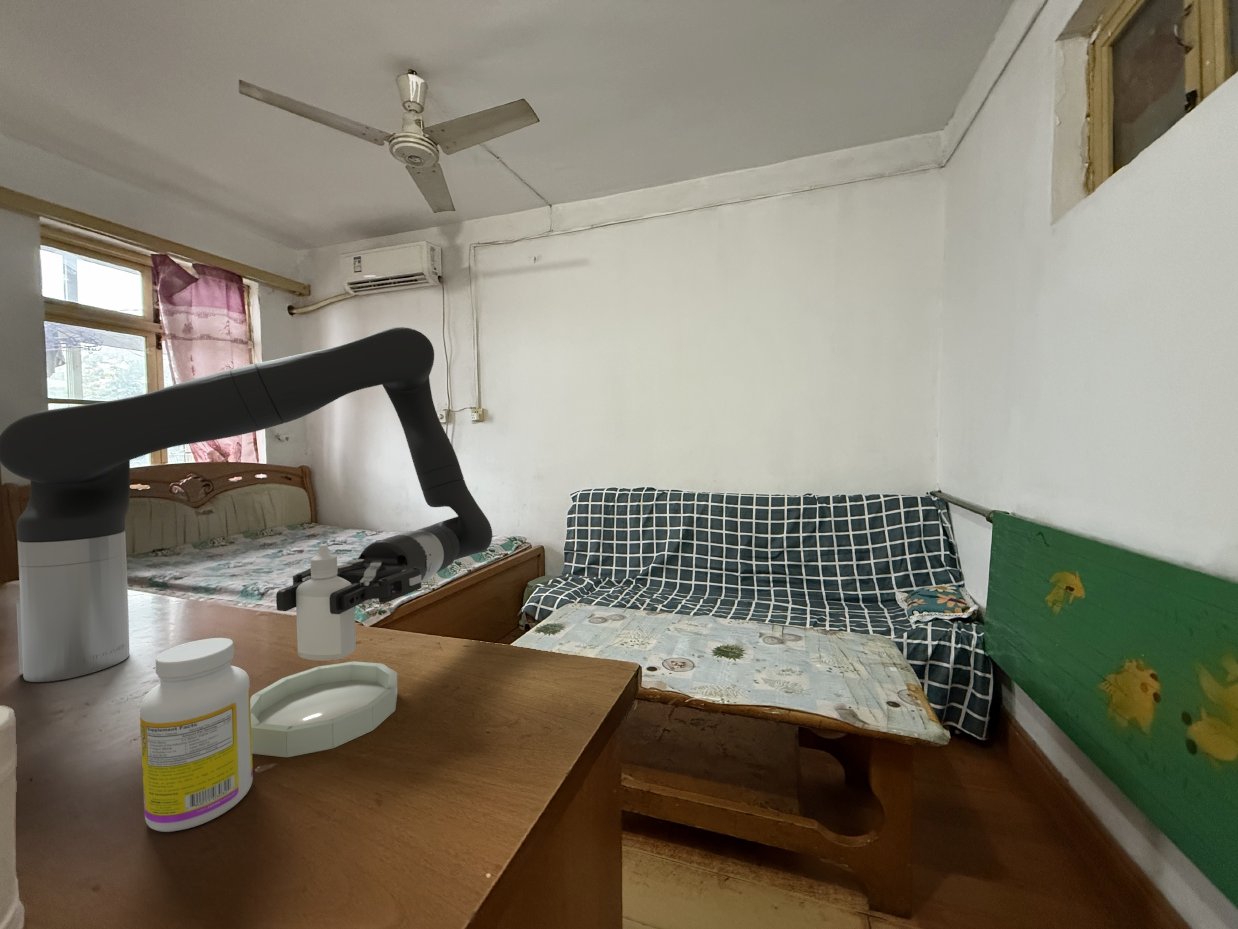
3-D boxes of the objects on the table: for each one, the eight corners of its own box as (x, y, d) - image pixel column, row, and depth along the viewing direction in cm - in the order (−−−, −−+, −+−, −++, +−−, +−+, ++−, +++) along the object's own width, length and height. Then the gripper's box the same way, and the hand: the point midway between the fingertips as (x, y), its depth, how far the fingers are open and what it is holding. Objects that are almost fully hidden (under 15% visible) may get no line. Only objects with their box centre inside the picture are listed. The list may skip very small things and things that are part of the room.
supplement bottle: (191, 777, 42) (186, 633, 41) (270, 773, 42) (267, 631, 42) (117, 840, 35) (111, 669, 35) (213, 834, 36) (208, 666, 35)
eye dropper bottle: (316, 669, 48) (312, 552, 48) (293, 654, 52) (289, 545, 51) (360, 653, 52) (357, 544, 51) (336, 641, 55) (333, 538, 55)
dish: (205, 748, 46) (204, 722, 46) (317, 678, 60) (316, 658, 60) (336, 763, 44) (336, 736, 44) (421, 687, 58) (420, 666, 58)
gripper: (355, 533, 66) (242, 564, 50) (452, 535, 64) (368, 569, 48) (356, 586, 67) (245, 635, 50) (453, 590, 65) (371, 643, 48)
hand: (306, 603), depth 49 cm, fingers closed on eye dropper bottle, 5 cm apart
